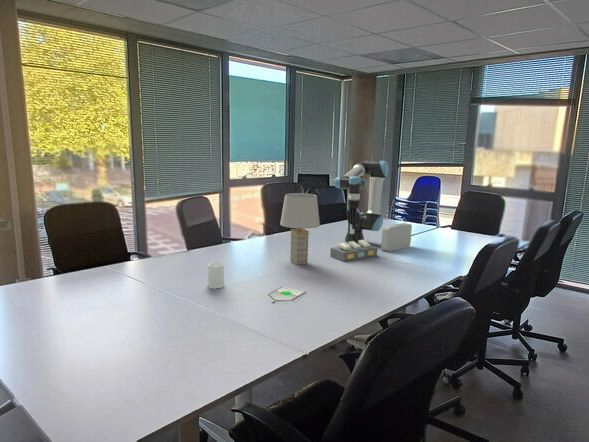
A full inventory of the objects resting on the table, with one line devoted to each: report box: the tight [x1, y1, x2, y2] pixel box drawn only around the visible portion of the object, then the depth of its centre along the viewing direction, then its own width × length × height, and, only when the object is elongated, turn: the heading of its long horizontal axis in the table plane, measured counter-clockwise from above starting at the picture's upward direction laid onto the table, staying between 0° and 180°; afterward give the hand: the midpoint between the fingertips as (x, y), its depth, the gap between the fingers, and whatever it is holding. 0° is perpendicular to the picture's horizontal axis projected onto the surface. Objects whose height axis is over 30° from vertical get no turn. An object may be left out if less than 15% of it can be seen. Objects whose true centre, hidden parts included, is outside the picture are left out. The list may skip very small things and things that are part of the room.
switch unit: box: [329, 243, 378, 263], centre depth 283 cm, size 15×30×7 cm, turn 123°
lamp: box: [279, 192, 321, 265], centre depth 262 cm, size 25×25×44 cm
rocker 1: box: [337, 242, 351, 250], centre depth 278 cm, size 8×4×2 cm, turn 33°
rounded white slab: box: [380, 222, 412, 253], centre depth 308 cm, size 29×8×18 cm, turn 129°
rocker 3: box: [357, 239, 371, 248], centre depth 287 cm, size 8×4×2 cm, turn 33°
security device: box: [266, 286, 308, 302], centre depth 205 cm, size 17×22×2 cm
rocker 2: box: [347, 241, 361, 249], centre depth 282 cm, size 8×4×2 cm, turn 33°
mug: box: [207, 261, 225, 290], centre depth 218 cm, size 12×8×12 cm
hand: (352, 233), depth 283 cm, fingers closed
